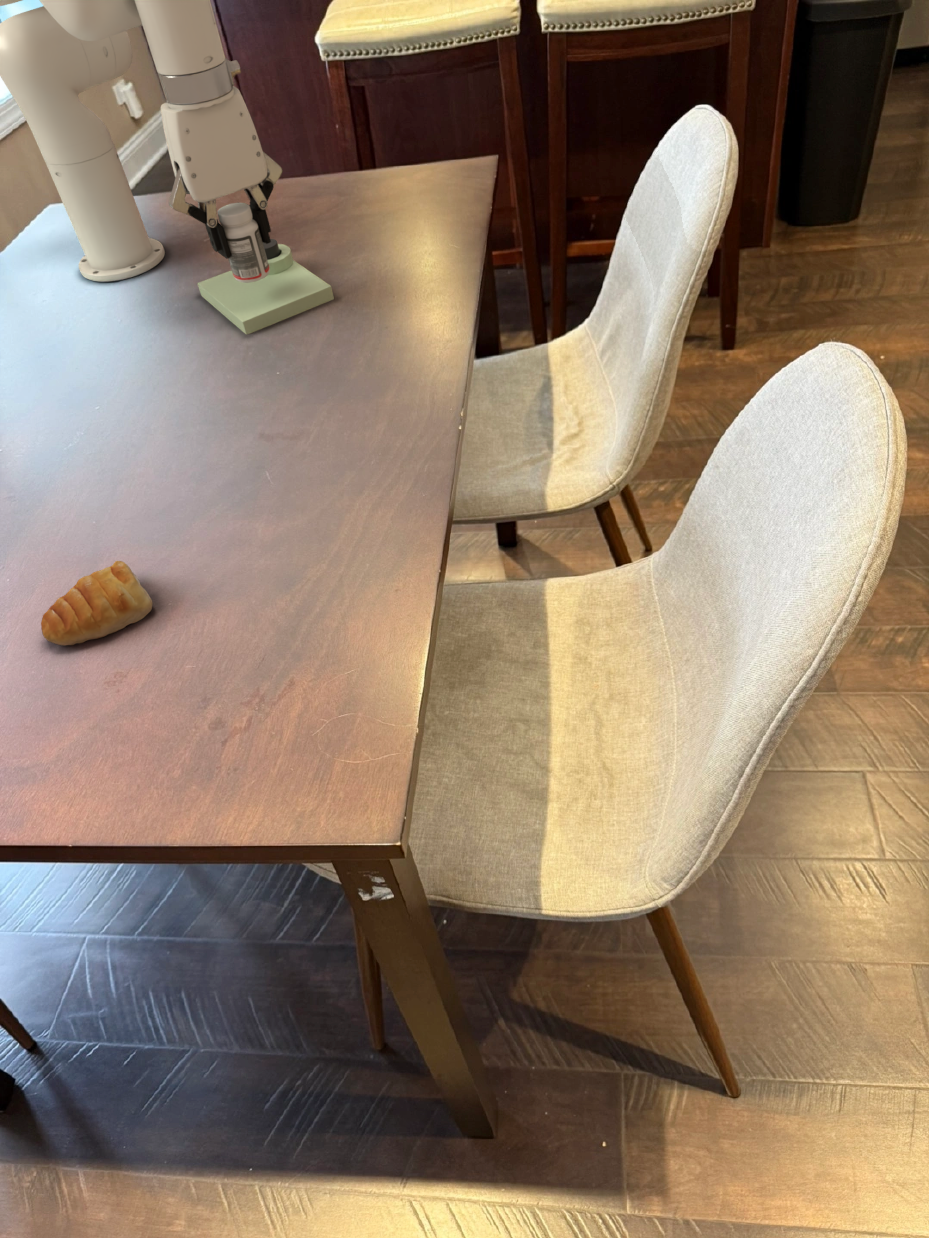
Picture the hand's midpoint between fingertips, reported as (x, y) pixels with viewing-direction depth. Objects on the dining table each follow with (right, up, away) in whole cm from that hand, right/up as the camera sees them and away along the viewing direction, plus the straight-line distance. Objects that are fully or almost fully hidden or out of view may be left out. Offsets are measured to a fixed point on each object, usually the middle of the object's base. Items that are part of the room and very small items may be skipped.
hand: (243, 246), depth 109 cm
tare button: (+1, +3, +10) cm, 11 cm away
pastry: (-4, -47, -31) cm, 56 cm away
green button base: (+1, -3, +9) cm, 9 cm away
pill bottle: (0, -3, +3) cm, 4 cm away
